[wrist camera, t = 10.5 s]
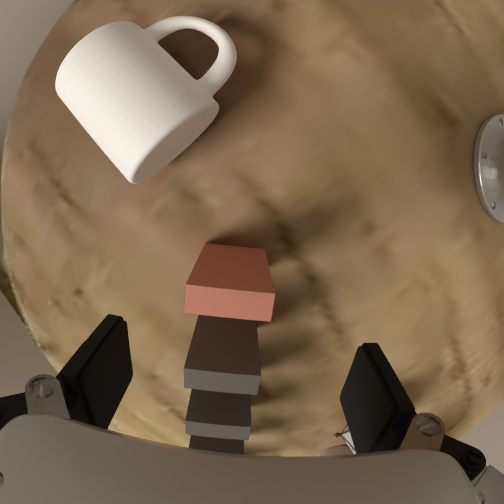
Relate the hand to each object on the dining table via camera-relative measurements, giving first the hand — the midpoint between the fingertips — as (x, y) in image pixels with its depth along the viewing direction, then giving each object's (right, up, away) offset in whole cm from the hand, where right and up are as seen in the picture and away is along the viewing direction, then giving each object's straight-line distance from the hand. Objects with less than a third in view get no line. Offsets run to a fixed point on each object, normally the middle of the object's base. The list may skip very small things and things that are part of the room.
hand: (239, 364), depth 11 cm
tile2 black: (-2, -2, +16) cm, 16 cm away
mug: (-6, +18, +10) cm, 21 cm away
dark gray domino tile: (-2, -7, +17) cm, 19 cm away
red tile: (-1, +4, +14) cm, 15 cm away
